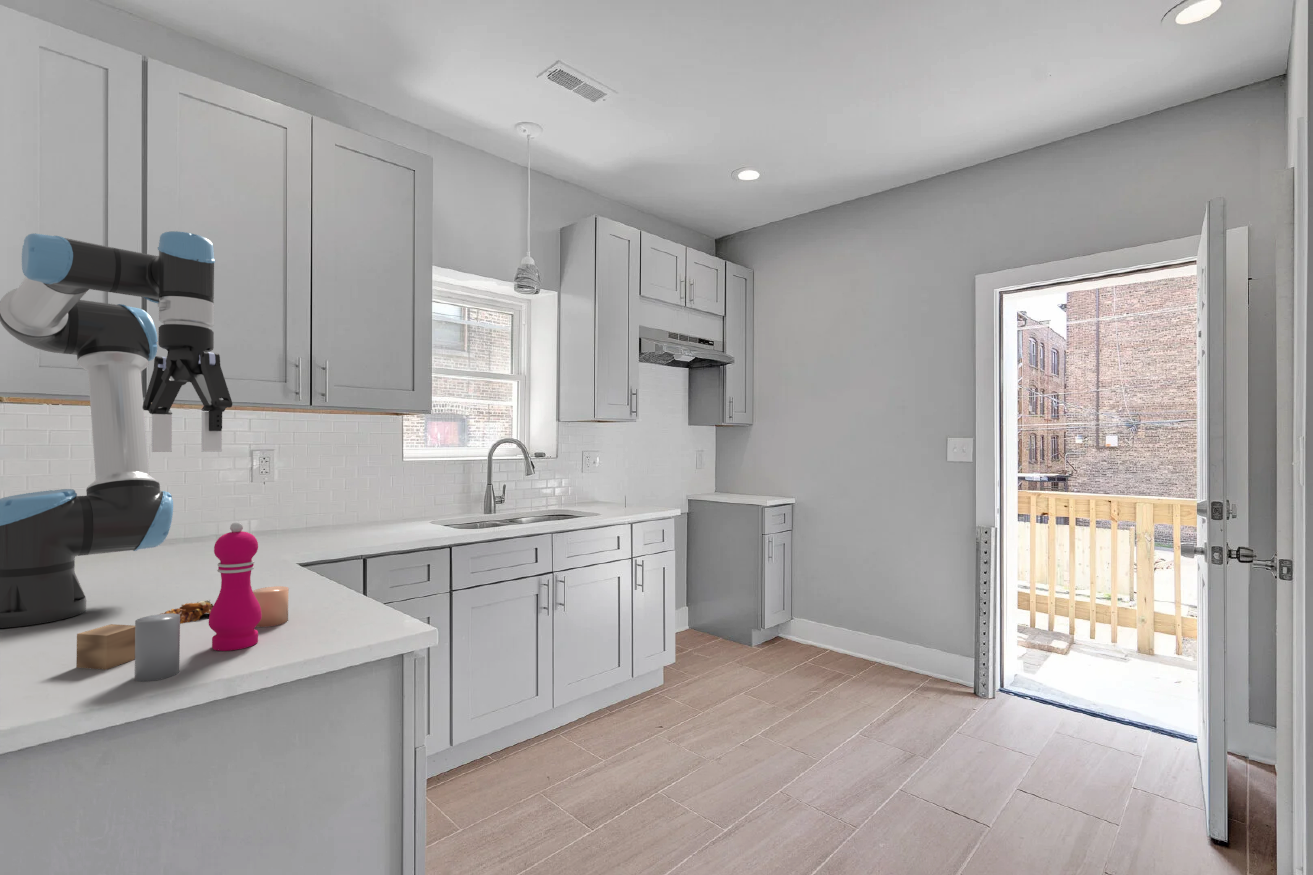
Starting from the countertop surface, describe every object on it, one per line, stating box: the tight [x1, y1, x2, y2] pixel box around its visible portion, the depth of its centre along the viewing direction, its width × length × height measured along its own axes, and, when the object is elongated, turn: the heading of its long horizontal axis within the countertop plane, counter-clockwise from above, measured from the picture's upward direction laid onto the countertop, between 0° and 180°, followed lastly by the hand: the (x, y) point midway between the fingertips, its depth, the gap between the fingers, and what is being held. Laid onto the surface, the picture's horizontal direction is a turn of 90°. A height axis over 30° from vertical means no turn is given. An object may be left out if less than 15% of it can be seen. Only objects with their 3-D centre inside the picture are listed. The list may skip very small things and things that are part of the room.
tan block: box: [75, 623, 135, 671], centre depth 95 cm, size 5×5×5 cm
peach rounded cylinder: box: [252, 585, 290, 628], centre depth 116 cm, size 6×6×6 cm
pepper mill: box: [208, 521, 262, 652], centre depth 103 cm, size 7×7×20 cm
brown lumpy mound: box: [161, 599, 214, 625], centre depth 117 cm, size 7×12×4 cm, turn 145°
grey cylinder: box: [134, 613, 181, 682], centre depth 90 cm, size 5×5×8 cm
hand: (186, 452), depth 107 cm, fingers open, 13 cm apart
